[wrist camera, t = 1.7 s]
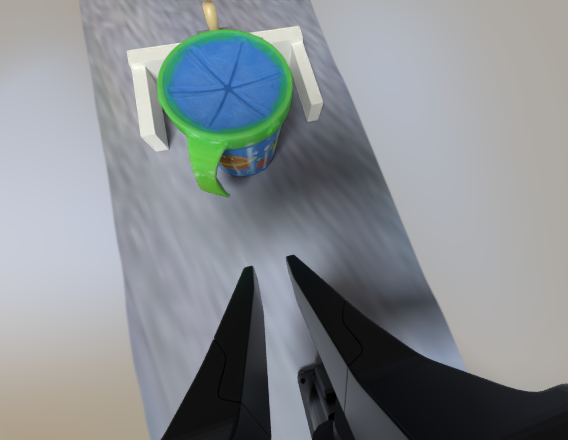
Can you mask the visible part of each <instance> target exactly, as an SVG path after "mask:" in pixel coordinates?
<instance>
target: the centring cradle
mask: <svg viewBox="0 0 568 440" xmlns="http://www.w3.org/2000/svg"><path fill="white" fill-rule="evenodd" d="M202 6H203V9H204V13H205V17H206V20H207V24H208V28H209V30H203V31H197V32H198V34H200V33H203V32H207V31H212V30H232V28H231V27H225V28H220V27H219V23H218V19H217V14H216V10H215V6H214V3H213V2H212V1H209V0H207V1H204V2H203V4H202ZM250 34H253V35H256V36H259V37H263V39H264V40H266V41H267V42H269V43H270V44H272V45H273V46H274V47H275V48H276V49H277V50H278V51H279V52H280V53H281V54H282V56H283V57H284V58H285V60H286V62H287V64H288V66H289V67H290V69H291V71H292V75H293V79H294V82H295V85H296V88H297V92H298V95H299V98H300V101H301V104H302V107H303V110H304V113H305V116H306V120H307V122H311V121H316V120H318V118H319V115H320V112H321V109H322V106H323V100H322V97H321V94H320V91H319V88H318V85H317V83H316V80H315V77H314V74H313V71H312V68H311V65H310V62H309V59H308V57H307V54H306V51H305V48H304V45H303V36H302V33H301V31H300V28H299V26H294V27H287V28H280V29H273V30H266V31H259V32H252V33H250ZM179 44H180V43H176V44H169V45H162V46H155V47H148V48H141V49H134V50H127V55H128V63H129V65H130V67H131V68H132V74H133V82H134V89H135V97H136V104H137V111H138V119H139V126H140V134H141V137H142V138H143V139H144V140H145V141H146V142H147V143H148V144H149V145H150V146H151V147H152V148H153V149H154V150H155V151H156V152H158V151H163V150H168V149H169V146H168V140H167V134H166V128H165V122H164V116H163V109H162V106H161V105H160V103H159V101H158V95H157V93H158V89H157V80H158V74H159V70H160V68H161V65H162V63H163V61H164V60H165V58H166V57H167V55H168V54H169V53H170V52H171V51H172V50H173V49H174V48H175V47H176V46H177V45H179Z"/></svg>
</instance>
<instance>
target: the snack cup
mask: <svg viewBox="0 0 568 440" xmlns="http://www.w3.org/2000/svg"><path fill="white" fill-rule="evenodd" d="M157 89H158V93H157V95H158V101H159V103H160V105H161V106H162V107H163V109H164V110H165V112H166V114H167V115H168V117H169V118H170V119H171V121H172V122H173V123H174V124H175V126H176V127H177V128H178V129H179V130H180V131H181V132H182V133H183V134H185V135H186V136H187V141H188V150H189V157H190V162H191V167H192V170H193V173H194V176H195V178H196V180H197V183H198V185H199V187H200V188H201V190H204V191H206V192H209V193H213V194H216V195H220V196H225V197H230V194H227V193H226V191H225V190H224V188H223V187H222V185H221V184H220V182H219V181H218V179H217V178H216V175H217V168H218V166H219V167H220V168H222V169H223V170H224V171H226V172H228V173H229V174H231V175H233V176H239V177H240V176H250V175H254V174H257V173H258V172H260V171H263V170H264V169H265V168H266V167H267V166H268V164H269V162H270V161H271V160H272V157H273V155H274V152H275V148H276V145H277V141H278V138H279V134H280V130H281V127H282V123H283V122H284V120H285V119H286V117H287V115H288V113H289V110H290V107H291V102H292V94H293V75H292V71H291V69H290V68H289V66H288V64H287V62H286V60H285V58H284V57H283V56H282V54H281V53H280V52H279V51H278V50H277V49H276V48H275V47H274V46H273V45H272V44H270V43H269V42H267V41H266V40H264V39H263V37H259V36H256V35H253V34H250V33H247V32H243V31H237V30H212V31H207V32H203V33H200V34H197V35H195V36H192V37H190V38H188V39H186V40H185V41H183V42H182V43H180V44H179V45H177V46H176V47H175V48H174V49H173V50H172V51H171V52H170V53H169V54H168V55H167V57H166V58H165V60H164V61H163V63H162V65H161V68H160V70H159V74H158V80H157Z"/></svg>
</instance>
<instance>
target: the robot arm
mask: <svg viewBox="0 0 568 440" xmlns="http://www.w3.org/2000/svg"><path fill="white" fill-rule="evenodd" d="M286 262H287V267H288V272H289V275H290V279H291V282H292V286H293V289H294V293H295V296H296V300H297V303H298V305H299V308H300V310H301V312H302V315H303V317H304V320H305V322H306V324H307V327H308V329H309V331H310V334H311V336H312V338H313V341H314V343H315V345H316V348H317V350H318V353H319V355H320V357H321V360H322V362H323V364H322V365H319V366H316V367H315V369H313V370H310V371H307V372H304V373H301V374H299V376H298V384H299V388H300V392H301V396H302V400H303V404H304V408H305V413H306V417H307V421H308V425H309V429H310V433H311V437H312V440H568V384H561V385H557V386H555V387H552V388H549V389H547V390H544V391H540V392H528V391H523V390H517V389H514V388H510V387H507V386H504V385H501V384H498V383H495V382H492V381H490V380H487V379H484V378H481V377H478V376H476V375H472V374H470V373H467V372H464V371H461V370H459V369H456V368H453V367H450V366H447V365H445V364H442V363H439V362H436V361H434V360H431V359H429V358H427V357H425V356H423V355H421V354H419V353H417V352H416V351H414V350H413V349H411V348H410V347H408V346H407V345H405V344H404V343H402V342H401V341H400V340H398V339H397V338H395V337H394V336H392V335H391V334H390V333H388V332H387V331H385V330H384V329H383V328H381V327H380V326H378V325H377V324H375V323H374V322H373V321H371V320H370V319H369V318H367V317H366V316H365V315H363V314H362V313H361V312H360V311H358V310H357V309H356V308H355V307H354V306H352V305H351V304H350V303H349V302H348V301H347V300H345V299H344V298H343V297H342V296H341V295H340V294H339V293H338V292H336V291H335V290H334V289H333V288H332V287H331V286H329V285H328V284H327V283H326V282H325V281H324V280H323V279H321V278H320V277H319V276H318V275H317V274H316V273H315V272H313V271H312V270H311V269H310V268H309V267H308V266H307V265H305V264H304V263H303V262H302V261H301V260H300V259H299V258H297V257H296V256H295V255H290V256H287V257H286ZM214 339H215V340H213V341H212V343H211V345H210V348H209V350H208V352H207V354H206V357H205V359H204V361H203V363H202V365H201V367H200V369H199V371H198V373H197V375H196V377H195V379H194V381H193V383H192V384H191V386H190V388H189V390H188V392H187V394H186V395H185V397H184V399H183V401H182V403H181V405H180V407H179V408H178V410H177V412H176V414H175V416H174V418H173V419H172V421H171V423H170V425H169V427H168V429H167V430H166V432H165V434H164V435H163V437H162V439H161V440H271V423H270V407H269V391H268V374H267V358H266V342H265V326H264V312H263V306H262V300H261V295H260V290H259V284H258V279H257V276H256V273H255V270H254V267H253V266H248V267H245V268H244V269H243V272H242V274H241V276H240V278H239V281H238V283H237V285H236V288H235V290H234V292H233V295H232V297H231V299H230V302H229V304H228V306H227V309H226V311H225V313H224V316H223V318H222V320H221V322H220V325H219V327H218V329H217V332H216V334H215V336H214ZM302 378H304V379H305V381H303V382H302V381H301V379H302Z"/></svg>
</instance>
